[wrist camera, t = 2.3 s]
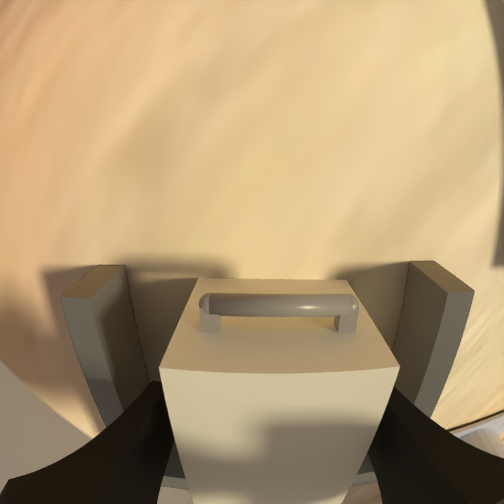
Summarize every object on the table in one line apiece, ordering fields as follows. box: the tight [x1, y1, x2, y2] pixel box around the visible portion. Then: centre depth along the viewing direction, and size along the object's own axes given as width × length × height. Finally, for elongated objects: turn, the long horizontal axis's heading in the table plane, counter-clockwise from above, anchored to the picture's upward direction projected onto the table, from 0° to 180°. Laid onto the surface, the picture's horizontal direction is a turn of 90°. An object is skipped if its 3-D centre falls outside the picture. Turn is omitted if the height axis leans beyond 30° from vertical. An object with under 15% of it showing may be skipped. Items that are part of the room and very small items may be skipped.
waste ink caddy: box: [159, 278, 400, 504], centre depth 10 cm, size 9×6×6 cm, turn 179°
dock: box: [60, 261, 475, 490], centre depth 11 cm, size 11×13×3 cm
